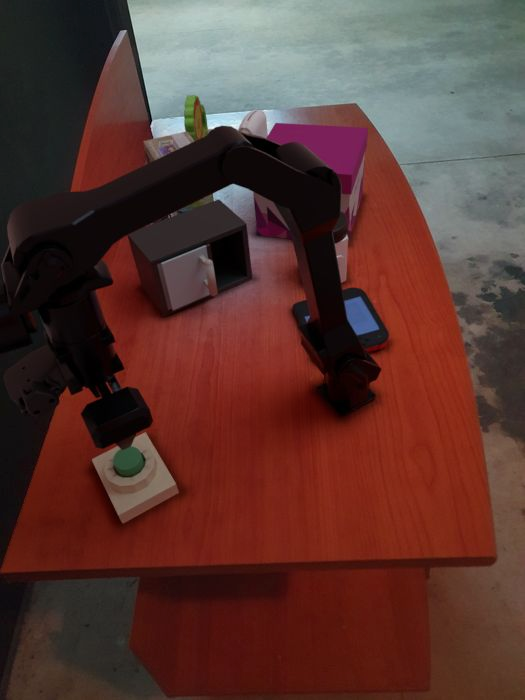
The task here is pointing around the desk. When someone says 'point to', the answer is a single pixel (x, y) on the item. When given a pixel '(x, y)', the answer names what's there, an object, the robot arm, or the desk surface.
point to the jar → (341, 244)
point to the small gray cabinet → (186, 235)
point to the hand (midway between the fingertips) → (112, 420)
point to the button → (128, 462)
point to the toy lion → (195, 118)
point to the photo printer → (254, 124)
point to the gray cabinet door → (190, 277)
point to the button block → (136, 481)
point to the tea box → (167, 145)
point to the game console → (355, 318)
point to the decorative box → (333, 149)
